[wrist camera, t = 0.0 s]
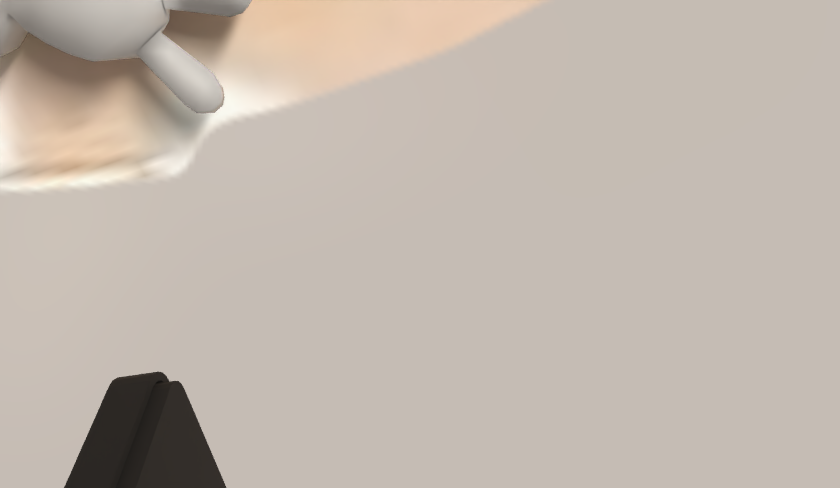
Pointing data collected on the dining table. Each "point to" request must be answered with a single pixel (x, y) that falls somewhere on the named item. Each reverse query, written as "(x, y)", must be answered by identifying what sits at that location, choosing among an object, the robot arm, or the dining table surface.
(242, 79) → the dining table surface
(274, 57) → the dining table surface
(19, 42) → the white figure shaped piece
